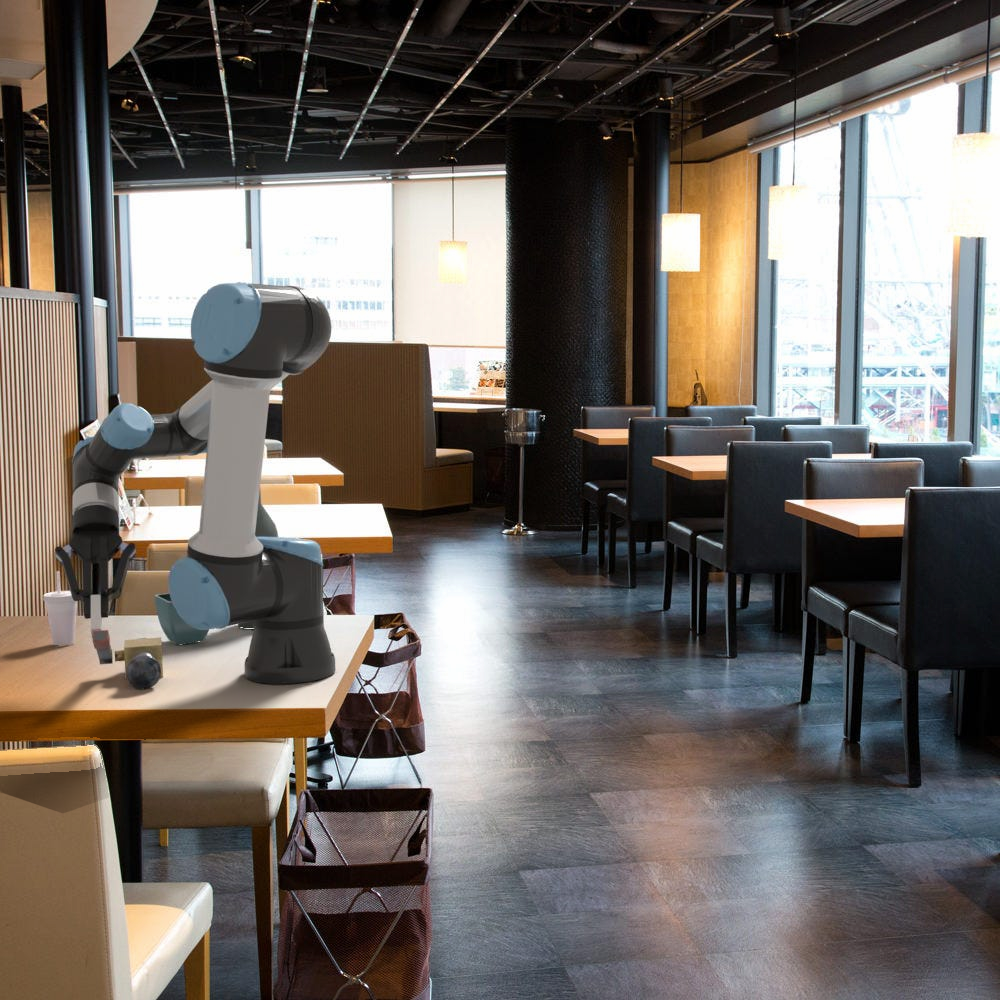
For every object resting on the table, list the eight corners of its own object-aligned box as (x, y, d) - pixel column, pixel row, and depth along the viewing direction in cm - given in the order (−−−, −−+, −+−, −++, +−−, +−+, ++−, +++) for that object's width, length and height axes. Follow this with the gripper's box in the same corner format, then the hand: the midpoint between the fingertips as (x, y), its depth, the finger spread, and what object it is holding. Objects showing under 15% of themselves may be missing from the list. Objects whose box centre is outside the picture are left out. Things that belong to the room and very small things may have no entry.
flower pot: (170, 649, 221) (168, 601, 220) (155, 640, 228) (153, 594, 227) (216, 643, 226) (214, 596, 225) (200, 634, 233) (198, 589, 232)
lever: (98, 651, 202) (92, 628, 184) (113, 650, 203) (107, 627, 185) (99, 665, 201) (92, 643, 184) (113, 664, 202) (108, 642, 184)
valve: (116, 670, 205) (114, 639, 205) (162, 667, 208) (161, 636, 207) (114, 691, 192) (112, 658, 191) (163, 687, 194) (162, 654, 194)
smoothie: (38, 646, 224) (34, 573, 223) (61, 639, 230) (57, 567, 229) (66, 649, 222) (62, 574, 221) (88, 641, 228) (85, 568, 227)
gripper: (136, 527, 208) (140, 643, 194) (57, 531, 205) (54, 649, 191) (134, 500, 202) (138, 617, 188) (52, 504, 199) (50, 623, 185)
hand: (96, 633), depth 190 cm, fingers closed
